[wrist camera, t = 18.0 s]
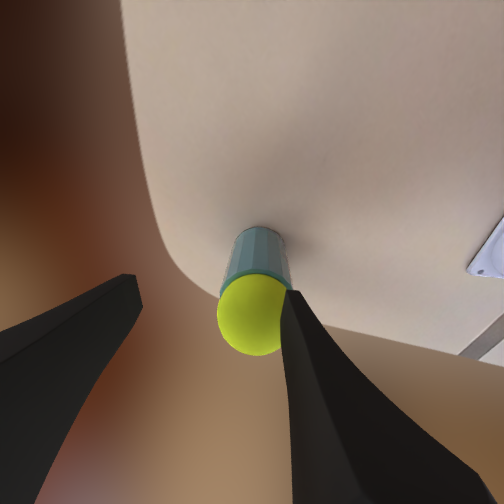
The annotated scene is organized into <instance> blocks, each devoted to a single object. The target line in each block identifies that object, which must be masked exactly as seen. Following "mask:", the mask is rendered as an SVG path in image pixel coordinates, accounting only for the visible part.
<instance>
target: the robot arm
mask: <svg viewBox="0 0 504 504" xmlns="http://www.w3.org/2000/svg"><path fill="white" fill-rule="evenodd" d="M466 271H467V273H468V274H470V275H474V276H485V277H495V278H504V217H503V218H502V220H501V221H500V223H499V224H498V226H497V227H496V228H495V230H494V231H493V233H492V234H491V236H490V237H489V238H488V240H487V241H486V243H485V244H484V246H483V247H482V248H481V250H480V251H479V253H478V254H477V255H476V257H475V258H474V260H473V261H472V263H471V264H470V265H469V267H468V268H467V270H466ZM142 308H143V305H142V301H141V296H140V292H139V288H138V284H137V280H136V276H135V275H131V274H121V275H119V276H117V277H115V278H112V279H111V280H108V281H106V282H104V283H103V284H101V285H99V286H97V287H95V288H93V289H91V290H89V291H87V292H85V293H83V294H81V295H79V296H77V297H75V298H73V299H71V300H70V301H68V302H65V303H63V304H61V305H59V306H57V307H55V308H53V309H51V310H49V311H47V312H45V313H43V314H41V315H38V316H36V317H34V318H32V319H29V320H27V321H25V322H22V323H20V324H18V325H16V326H13V327H11V328H8V329H6V330H3V331H1V332H0V504H34V503H35V500H36V498H37V495H38V494H39V491H40V489H41V487H42V485H43V483H44V481H45V479H46V476H47V474H48V472H49V470H50V468H51V466H52V463H53V462H54V460H55V458H56V456H57V454H58V451H59V450H60V448H61V445H62V444H63V442H64V440H65V438H66V436H67V434H68V432H69V430H70V428H71V426H72V424H73V422H74V420H75V419H76V417H77V415H78V413H79V411H80V409H81V407H82V406H83V404H84V402H85V400H86V398H87V397H88V395H89V393H90V391H91V390H92V388H93V386H94V384H95V382H96V381H97V379H98V378H99V376H100V375H101V373H102V371H103V370H104V369H105V367H106V366H107V364H108V363H109V361H110V360H111V358H112V357H113V356H114V354H115V353H116V351H117V350H118V348H119V347H120V345H121V344H122V342H123V341H124V339H125V338H126V337H127V335H128V334H129V332H130V331H131V329H132V327H133V326H134V324H135V322H136V320H137V318H138V316H139V314H140V312H141V310H142ZM280 341H281V348H282V356H283V363H284V370H285V378H286V385H287V392H288V402H289V418H290V419H289V420H290V439H291V464H292V492H293V493H292V494H293V504H497V502H496V501H495V499H494V497H493V496H492V494H491V493H490V491H489V490H488V488H487V487H486V485H485V483H484V482H483V481H482V479H481V478H480V476H479V475H478V473H476V472H475V471H474V470H473V469H471V468H470V467H469V466H468V465H466V464H465V463H464V462H462V461H461V460H460V459H459V458H458V457H456V456H455V455H454V454H452V453H451V452H450V451H449V450H448V449H446V448H445V447H444V446H443V445H442V444H440V443H439V442H438V441H437V440H435V439H434V438H433V437H431V436H430V435H429V434H428V433H427V432H426V431H424V430H423V429H422V428H421V427H420V426H419V425H417V424H416V423H415V422H414V421H413V420H412V419H411V418H409V417H408V416H407V415H406V414H405V413H404V412H403V411H401V410H400V409H399V408H398V407H397V406H396V405H395V404H394V403H393V402H392V401H390V400H389V399H388V398H387V397H386V396H385V395H384V394H383V393H382V392H381V391H380V390H379V389H378V388H377V387H376V386H375V385H374V384H373V383H372V382H371V381H370V380H369V379H367V377H366V376H365V375H364V374H363V373H362V372H361V371H360V370H359V369H358V368H357V367H356V366H355V365H354V364H353V362H352V361H351V360H350V359H349V358H348V357H347V356H346V355H345V354H344V352H342V350H341V349H340V347H339V346H338V345H337V344H336V343H335V342H334V340H333V339H332V338H331V336H330V335H329V334H328V332H327V331H326V330H325V328H324V327H323V326H322V324H321V323H320V321H319V320H318V319H317V317H316V316H315V314H314V313H313V311H312V310H311V308H310V307H309V305H308V304H307V302H306V300H305V299H304V297H303V296H302V294H301V292H300V291H298V290H287V289H286V292H285V297H284V302H283V307H282V312H281V317H280Z"/></svg>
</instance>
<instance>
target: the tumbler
mask: <svg viewBox="0 0 504 504" xmlns="http://www.w3.org/2000/svg"><path fill="white" fill-rule="evenodd" d="M248 274H264V275H268V276H271V277H273V278H275V279H277V280H278V281H279V282H281V283H282V284H283V285H284V286H285V287H286V288H287V290H294V288H293V283H292V278H291V272H290V267H289V262H288V257H287V252H286V248H285V244H284V242H283V240H282V238H281V237H280V236H279V235H278V234H277V233H276V232H274V231H272V230H270V229H267V228H263V227H255V228H250V229H248V230H246V231H244V232H242V233H241V234H240V235H239V236H238V237H237V239H236V240H235V242H234V245H233V247H232V250H231V254H230V257H229V261H228V264H227V268H226V271H225V275H224V278H223V282H222V285H221V289H220V298H221V296H222V294H223V292H224V291H225V289H226V288H227V287H228V286H229V285H230V284H231V283H232V282H233V281H235V280H236V279H238V278H240V277H242V276H245V275H248Z"/></svg>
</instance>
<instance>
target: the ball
mask: <svg viewBox="0 0 504 504" xmlns="http://www.w3.org/2000/svg"><path fill="white" fill-rule="evenodd" d="M286 289H287V288H286V287H285V286H284V285H283V284H282V283H281V282H279V281H278V280H277V279H275V278H273V277H271V276H268V275H264V274H248V275H245V276H242V277H240V278H238V279H236V280H235V281H233V282H232V283H231V284H230V285H229V286H228V287H227V288H226V289H225V291H224V292H223V294H222V296H221V298H220V301H219V304H218V309H217V319H218V325H219V328H220V331H221V333H222V335H223V337H224V338H225V340H226V341H227V342H228V343H229V344H230V345H231V346H232V347H233V348H235V349H237V350H238V351H240V352H242V353H244V354H248V355H257V356H259V355H266V354H269V353H271V352H274V351H276V350H277V349H279V348H280V347H281V341H280V317H281V312H282V307H283V302H284V297H285V292H286Z"/></svg>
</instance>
